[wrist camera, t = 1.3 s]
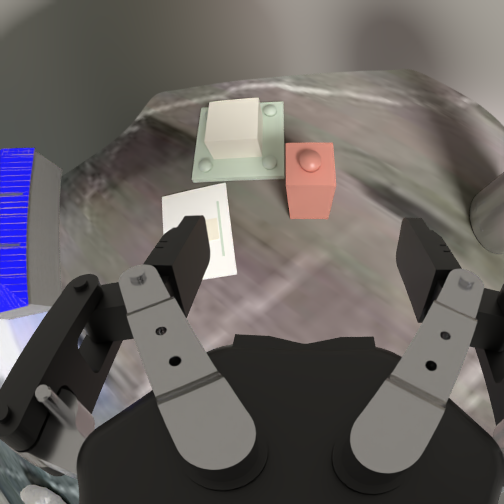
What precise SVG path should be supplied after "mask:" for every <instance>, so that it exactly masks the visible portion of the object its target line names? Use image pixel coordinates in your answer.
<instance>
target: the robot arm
mask: <svg viewBox="0 0 504 504" xmlns="http://www.w3.org/2000/svg"><path fill="white" fill-rule="evenodd" d="M470 221H471V225H472V228H473V231H474V234H475V236H476V237H477V239H478V241H479V242H480V243H481V245H482V246H483V247H485V248H486V249H487V250H489V251H490V252H492V253H496V254H502V253H504V172H503V173H502V174H501V175H500V176H499V177H497V178H496V179H495V180H494V181H493V182H491V183H490V184H489V185H488V186H486V187H485V188H484V189H483V190H482V191H480V192H479V193H478V194H477V195H476V196H475V197H474V199H473V201H472V204H471V207H470ZM209 262H210V245H209V239H208V233H207V227H206V221H205V217H204V216H203V215H192V216H184V218H183V219H182V221H181V222H180V224H179V225H178V227H173V228H172V229H170V230H169V231H168V232H166V233H165V234H164V235H163V236H162V238H161V239H160V241H159V242H158V243H157V245H156V246H155V248H154V249H153V251H152V252H151V254H150V255H149V256H148V258H147V259H146V261H145V262H144V264H143V265H137V266H134V267H132V268H130V269H128V270H126V271H125V272H124V273H123V274H122V275H121V276H120V278H119V282H117V283H111V284H105V285H101V284H100V282H99V279H98V277H97V276H95V275H93V274H86V275H82V276H79V277H77V278H75V279H73V280H72V281H71V282H70V283H69V284H68V285H67V286H66V288H65V289H64V290H63V292H62V293H61V294H60V296H59V297H58V299H57V300H56V301H55V303H54V304H53V306H52V307H51V309H50V310H49V311H48V313H47V314H46V316H45V317H44V319H43V320H42V322H41V323H40V325H39V326H38V328H37V329H36V331H35V332H34V334H33V335H32V337H31V338H30V340H29V342H28V343H27V345H26V346H25V348H24V349H23V351H22V353H21V354H20V356H19V358H18V359H17V361H16V363H15V364H14V366H13V368H12V369H11V371H10V373H9V375H8V376H7V378H6V380H5V382H4V384H3V385H2V387H1V389H0V439H1V440H2V441H3V442H5V443H6V444H7V445H8V446H9V447H10V448H11V449H12V450H13V451H15V452H16V453H17V454H19V455H20V456H21V457H23V458H24V459H26V460H27V461H29V462H30V463H32V464H33V465H35V466H37V467H39V468H41V469H42V470H44V471H46V472H47V473H49V474H51V475H53V476H62V475H65V474H66V475H68V476H70V477H73V478H75V479H78V485H79V504H498V500H499V497H500V494H501V492H504V284H503V286H502V289H501V291H500V292H499V291H494V290H490V289H486V288H484V284H483V282H482V280H481V279H480V278H479V277H478V276H477V275H476V274H475V273H473V272H471V271H469V270H465V269H462V268H461V267H460V265H459V263H458V262H457V260H456V259H455V257H454V255H453V254H452V252H450V249H449V248H448V246H446V243H445V242H444V240H443V239H442V237H441V236H439V235H438V234H437V233H435V232H434V231H433V230H429V228H428V227H427V225H426V224H425V222H424V221H423V219H422V218H404V219H403V221H402V225H401V230H400V236H399V241H398V246H397V252H396V263H397V267H398V269H399V272H400V274H401V277H402V280H403V282H404V285H405V287H406V290H407V293H408V296H409V298H410V301H411V304H412V307H413V310H414V313H415V315H416V318H417V321H418V323H422V324H421V326H420V328H419V330H418V331H417V333H416V335H415V337H414V338H413V340H412V342H411V343H410V345H409V347H408V348H407V350H406V352H405V353H404V355H403V356H402V357H401V356H399V355H397V354H395V353H393V352H391V351H388V350H385V349H382V348H378V347H375V342H374V337H339V338H335V339H330V340H325V341H320V342H315V343H309V344H301V343H297V342H292V341H288V340H284V339H280V338H275V337H271V336H257V335H239V334H235V338H234V342H233V344H232V345H227V346H222V347H219V348H216V349H213V350H211V351H209V352H206V351H205V350H204V348H203V346H202V345H201V343H200V341H199V340H198V338H197V336H196V335H195V333H194V331H193V329H192V328H191V326H190V324H189V323H188V321H187V319H186V318H187V316H188V313H189V311H190V308H191V306H192V303H193V301H194V298H195V296H196V294H197V291H198V289H199V286H200V284H201V281H202V279H203V277H204V274H205V272H206V269H207V267H208V265H209ZM83 329H85V331H86V333H87V335H86V337H85V339H84V340H83V342H82V344H81V346H80V348H79V349H78V338H79V336H80V334H81V332H82V330H83ZM127 339H134V340H135V343H136V346H137V349H138V352H139V355H140V358H141V360H142V363H143V366H144V368H145V371H146V374H147V376H148V379H149V382H150V384H151V387H152V389H153V390H152V391H151V392H149V393H148V394H146V395H145V396H143V397H142V398H141V399H139V400H138V401H136V402H135V403H133V404H132V405H130V406H129V407H127V408H126V409H124V410H123V411H122V412H120V413H119V414H117V415H116V416H114V417H113V418H111V419H110V420H108V421H107V422H105V423H104V424H102V425H101V426H99V427H98V428H96V429H95V430H94V427H95V423H94V418H93V416H92V415H91V414H92V411H93V409H94V406H95V404H96V401H97V399H98V396H99V394H100V392H101V389H102V387H103V384H104V382H105V380H106V377H107V375H108V373H109V370H110V368H111V366H112V363H113V361H114V359H115V357H116V354H117V352H118V350H119V348H120V345H121V343H122V341H123V340H127ZM469 346H470V347H475V350H476V353H477V356H478V359H479V362H480V365H481V368H482V372H483V375H484V378H485V382H486V385H487V389H488V393H489V397H490V401H491V405H492V409H493V413H494V418H495V422H496V427H495V429H494V432H493V438H492V437H491V436H490V435H489V434H488V433H487V432H486V431H485V430H484V429H483V428H482V427H481V426H479V425H478V424H477V423H476V422H475V421H474V420H473V419H472V418H471V417H470V416H468V415H467V414H466V413H465V412H464V411H463V410H462V409H461V408H460V407H458V406H457V405H456V404H455V403H454V402H453V401H452V400H451V399H450V398H449V396H450V394H451V391H452V389H453V387H454V384H455V382H456V380H457V377H458V375H459V372H460V370H461V367H462V365H463V362H464V360H465V357H466V354H467V351H468V349H469Z"/></svg>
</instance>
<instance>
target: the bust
mask: <svg viewBox="0 0 504 504" xmlns="http://www.w3.org/2000/svg"><path fill="white" fill-rule="evenodd" d="M20 494H21V498H22V500H23V501H24V503H25V504H66V503H65V502H64V501H63V500H62V498H61V497H60V496H59V495H56V494H55V493H54V492H52V491H51V490H49V489H47V488H46V487H40V486H37V485H28V486H26V488H23V489H22V491H21V492H20Z"/></svg>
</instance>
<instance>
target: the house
mask: <svg viewBox="0 0 504 504" xmlns="http://www.w3.org/2000/svg"><path fill="white" fill-rule="evenodd" d="M61 177H62V169H61V168H60V167H58V166H57V165H55V164H54V163H52V162H51V161H49V160H48V159H46V158H45V157H43V156H42V155H41V154H39V153H38V152H36V151H35V148H5V149H1V150H0V319H15V318H19V317H24V316H28V315H33V314H38V313H42V312H47V311H49V310H50V309H51V307H52V306H53V304H54V303H55V301H56V300H57V299H58V297H59V296H60V294H61V293H62V285H61V270H60V247H59V209H60V186H61Z"/></svg>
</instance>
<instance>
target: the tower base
mask: <svg viewBox="0 0 504 504" xmlns="http://www.w3.org/2000/svg"><path fill="white" fill-rule="evenodd" d="M266 179H285V161H284V104H283V102H265V103H260V101H259V98H246V99H234V100H223V101H214V102H209V107H206V108H201V114H200V121H199V127H198V134H197V142H196V149H195V157H194V165H193V173H192V181H193V182H194V183H197V182H215V181H236V180H266Z"/></svg>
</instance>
